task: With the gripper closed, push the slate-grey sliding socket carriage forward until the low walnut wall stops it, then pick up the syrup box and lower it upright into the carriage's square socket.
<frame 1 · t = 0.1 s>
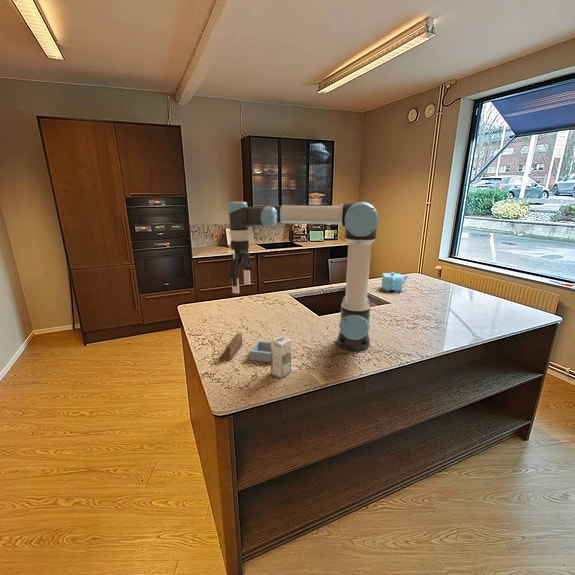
hand: (241, 288, 140), 28 cm above the countertop, fingers open, 13 cm apart
syrup box: (281, 373, 127), on the countertop
teapot: (395, 290, 229), on the countertop
carriage: (265, 351, 139), point 2 cm above the countertop, slide at 0.0 cm
wall: (234, 352, 143), on the countertop
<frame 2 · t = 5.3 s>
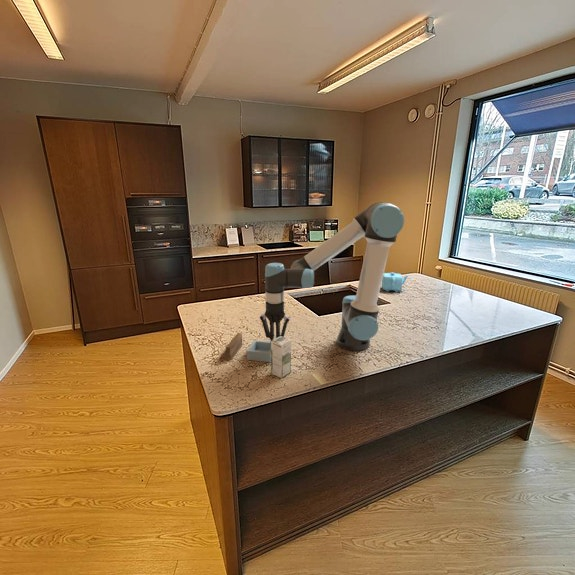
hand: (275, 352, 138), 2 cm above the countertop, fingers closed
carriage: (262, 350, 140), point 2 cm above the countertop, slide at 1.5 cm, touching gripper
everything else where it was.
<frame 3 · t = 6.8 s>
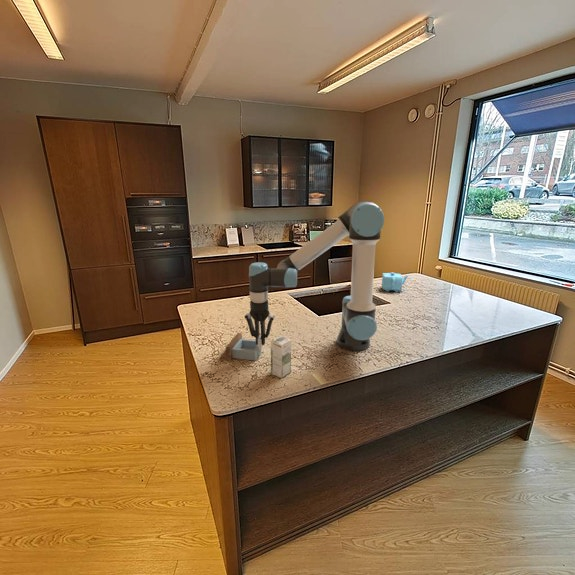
hand: (260, 351, 140), 2 cm above the countertop, fingers closed
carriage: (247, 349, 141), point 2 cm above the countertop, slide at 8.0 cm, touching gripper, wall
everything else where it was.
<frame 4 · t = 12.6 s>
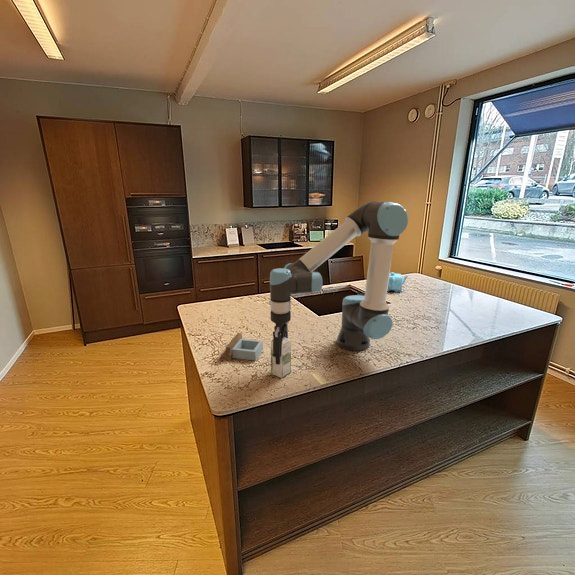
hand: (281, 364, 125), 4 cm above the countertop, fingers closed on syrup box, 7 cm apart
syrup box: (281, 373, 127), on the countertop, touching gripper
carriage: (247, 349, 141), point 2 cm above the countertop, slide at 8.0 cm
everything else where it was.
when the fingers open (6 cm above the countertop, at t = 18.4 s): syrup box drops 1 cm, resting on carriage.
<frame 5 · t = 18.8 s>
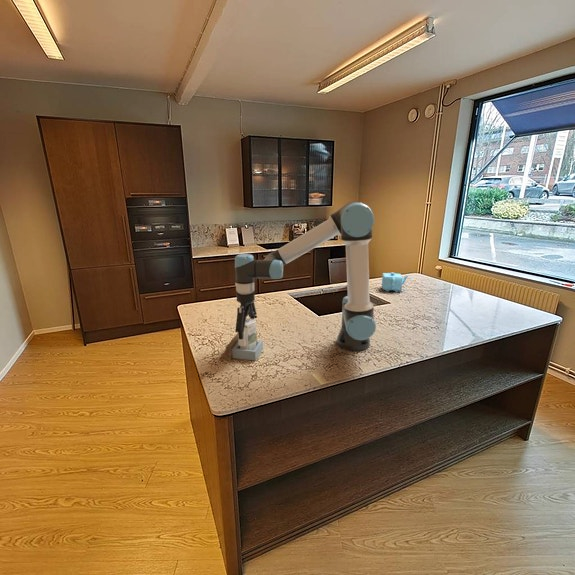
hand: (247, 338, 139), 7 cm above the countertop, fingers open, 13 cm apart
syrup box: (248, 352, 142), point 1 cm above the countertop, touching carriage
carriage: (247, 349, 141), point 2 cm above the countertop, slide at 8.0 cm, touching syrup box
everything else where it was.
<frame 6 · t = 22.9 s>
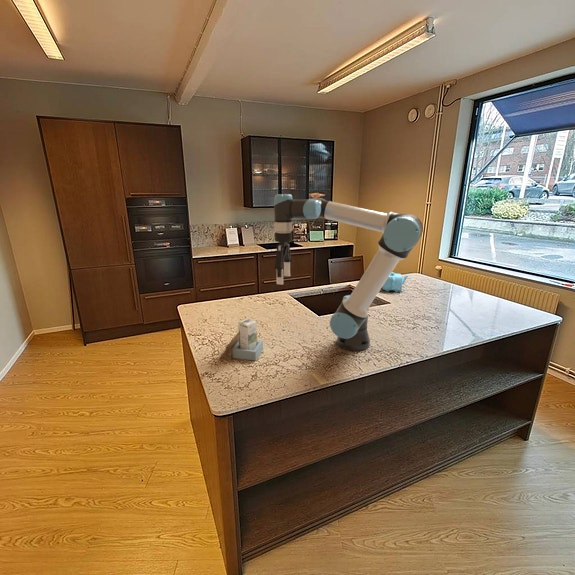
hand: (283, 280, 143), 31 cm above the countertop, fingers open, 13 cm apart
nothing on the countertop moved.
at the end: syrup box 0.4 cm off-centre on the carriage, point 0.6 cm above the carriage's base; carriage slide at 7.9 cm; syrup box tilted 0° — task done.
